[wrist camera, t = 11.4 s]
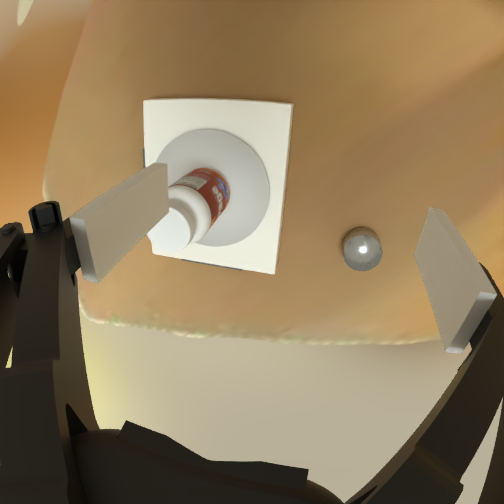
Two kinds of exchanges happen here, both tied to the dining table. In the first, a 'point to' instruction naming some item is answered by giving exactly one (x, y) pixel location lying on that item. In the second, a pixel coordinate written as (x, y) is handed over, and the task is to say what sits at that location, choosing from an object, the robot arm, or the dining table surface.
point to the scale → (227, 171)
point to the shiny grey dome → (362, 249)
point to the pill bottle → (191, 209)
